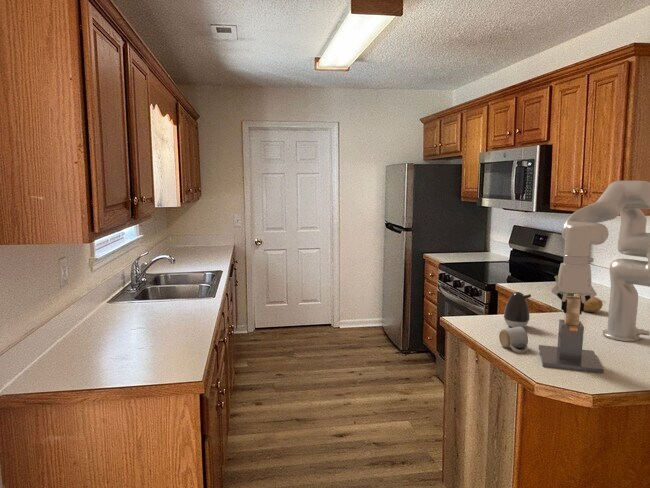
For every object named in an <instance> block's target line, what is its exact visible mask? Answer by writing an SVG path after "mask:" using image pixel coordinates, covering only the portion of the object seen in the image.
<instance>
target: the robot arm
mask: <svg viewBox="0 0 650 488" xmlns="http://www.w3.org/2000/svg"><path fill="white" fill-rule="evenodd" d="M642 210H650V182H649V181H647V180H646V181H645V180H616V181H613V182H611V183H610V184H609V185H608V186H607V187H606V189H605V190H604V191H603V193H602V194H601V196H599V198H597V200H596V201H595V202H594V203H593V202H592V203H590V204H588V205H586V206H584V207H581V208H579V209H577V210H576V211H574V212H573V213H571V215H570V216H569V217H568V218H567V219H566V221H565V222H564V224H563V225H562V229H561V236H562V239H564V250H563V262H560V264H559V265H560V266H559V270H558V275H557V276H558V281H557V284H556V283H555V285H554V286H553V287H552V288H551V290H550V292H551V293H553V294H554V295H555V296H557V297H558V299H559V300H561V307H560V309H561V311H562V312H563V314H565V313H566V310H567V301H566V297H567V294H568V293H570V294H574V295H576V294H580V299H581V302H580V315H582V312H585V311H584V303H585V302H586V301H587V300H589V299H590V298H592V297H597V292H596V290H595V289H594V287H593V286H592V269H591V264H590V263H594V257H590V245H593V246H594V245H595V246H598V245H602V244H604V243H605V242H606V241H607V240H608V237H609V235H610V234H609V230H608V227H607V226H606V225H605V224H603V223H604V222H608V221H611V220H614V219H617V217H618V216H620V226H619V233H618V241H617V250H618V252H619V253H620V254H622V255H624V256H630V257H637V258H639V257H640V258H646V259H647V260H639V259H634V258H633V259H632V258H624V257H623V258H616V259H615V260H612V261H611V263H610V265H609V278H610V280H609V281H610V294H609V295H610V296H609V305H608V306H609V307H608V318H607V328H606V329H604V330H603V331H602V335H603V336H604V337H606V338H609V339H611V340H615V341H621V342H637V341H640V336H650V330H646V329H643V328H638V327H637V316H638V306H639V293H638V291H637V288H636V287H635V286H634V285H637V286H643V287H649V288H650V232H646V231H647V230H646V229H647V222H648V221H647V217H646V215H645V214H644V212H643V211H642ZM557 289H558V290H559V291H560V292H562V295H561V294H560V293H559V292H558V291H557ZM585 294H587V295H586V296H585Z"/></svg>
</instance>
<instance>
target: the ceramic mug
mask: <svg viewBox="0 0 650 488" xmlns="http://www.w3.org/2000/svg"><path fill="white" fill-rule="evenodd" d="M498 338H499V343H500V345H501V347H503V348H505V349H511V350H512V352H513V351H514V352H515V353H517V354H524V353H527V350H528V343H529V335H528V333H527V330H526V329H525V327H514V328H512V327H508V328H504V329H501V330H500V332H499V334H498ZM521 348H522V349H521ZM523 348H524V349H523Z"/></svg>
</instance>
